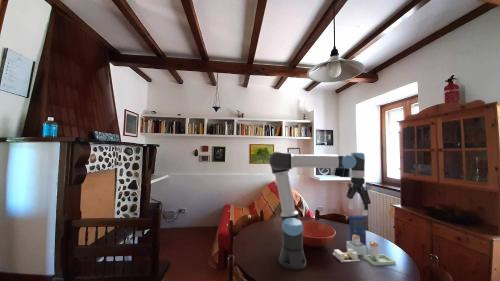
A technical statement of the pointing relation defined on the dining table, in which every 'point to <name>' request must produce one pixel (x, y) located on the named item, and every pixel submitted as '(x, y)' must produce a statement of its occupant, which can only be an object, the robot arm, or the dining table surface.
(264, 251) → the dining table surface
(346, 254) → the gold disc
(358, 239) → the cell
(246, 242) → the dining table surface
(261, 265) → the dining table surface
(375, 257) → the cell
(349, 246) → the grey open box
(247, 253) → the dining table surface
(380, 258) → the trough
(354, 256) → the cradle
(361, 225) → the electronic device
